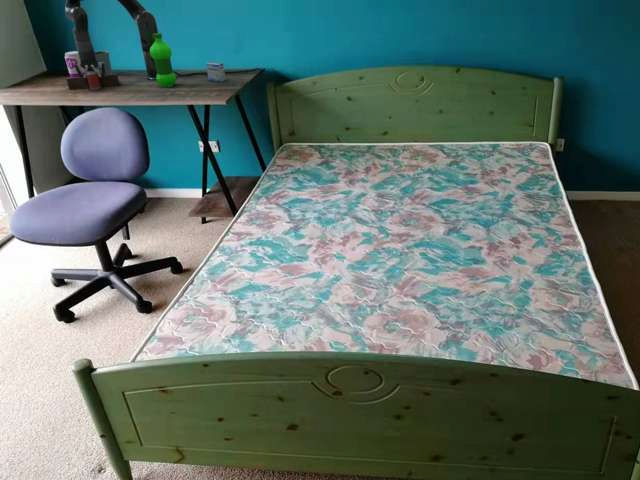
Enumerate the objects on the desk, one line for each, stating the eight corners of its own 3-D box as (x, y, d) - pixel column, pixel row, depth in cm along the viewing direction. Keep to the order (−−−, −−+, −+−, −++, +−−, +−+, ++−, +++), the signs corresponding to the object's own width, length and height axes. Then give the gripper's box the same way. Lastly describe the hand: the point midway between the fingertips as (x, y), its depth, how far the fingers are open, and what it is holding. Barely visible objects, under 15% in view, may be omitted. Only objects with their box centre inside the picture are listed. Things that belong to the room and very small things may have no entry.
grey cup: (96, 78, 321) (89, 55, 314) (93, 74, 328) (86, 52, 322) (115, 76, 325) (109, 53, 319) (112, 72, 333) (106, 49, 326)
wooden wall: (119, 83, 312) (117, 72, 309) (119, 85, 309) (116, 74, 306) (70, 87, 307) (67, 76, 304) (69, 89, 303) (66, 78, 300)
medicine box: (208, 81, 312) (205, 63, 307) (213, 78, 315) (210, 61, 311) (221, 82, 309) (218, 64, 304) (226, 80, 313) (223, 62, 308)
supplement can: (83, 84, 311) (74, 54, 303) (69, 84, 313) (60, 54, 305) (92, 80, 318) (84, 51, 310) (78, 80, 319) (70, 50, 311)
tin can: (102, 86, 307) (97, 68, 302) (101, 89, 302) (96, 71, 297) (90, 87, 305) (85, 69, 300) (89, 90, 301) (84, 72, 296)
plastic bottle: (157, 89, 300) (145, 36, 287) (157, 84, 309) (146, 32, 295) (177, 87, 302) (167, 35, 289) (177, 82, 311) (167, 31, 297)
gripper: (69, 52, 289) (79, 88, 298) (100, 50, 292) (109, 85, 301) (70, 49, 295) (80, 84, 304) (101, 47, 298) (110, 81, 307)
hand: (94, 84), depth 303 cm, fingers closed on tin can, 5 cm apart
